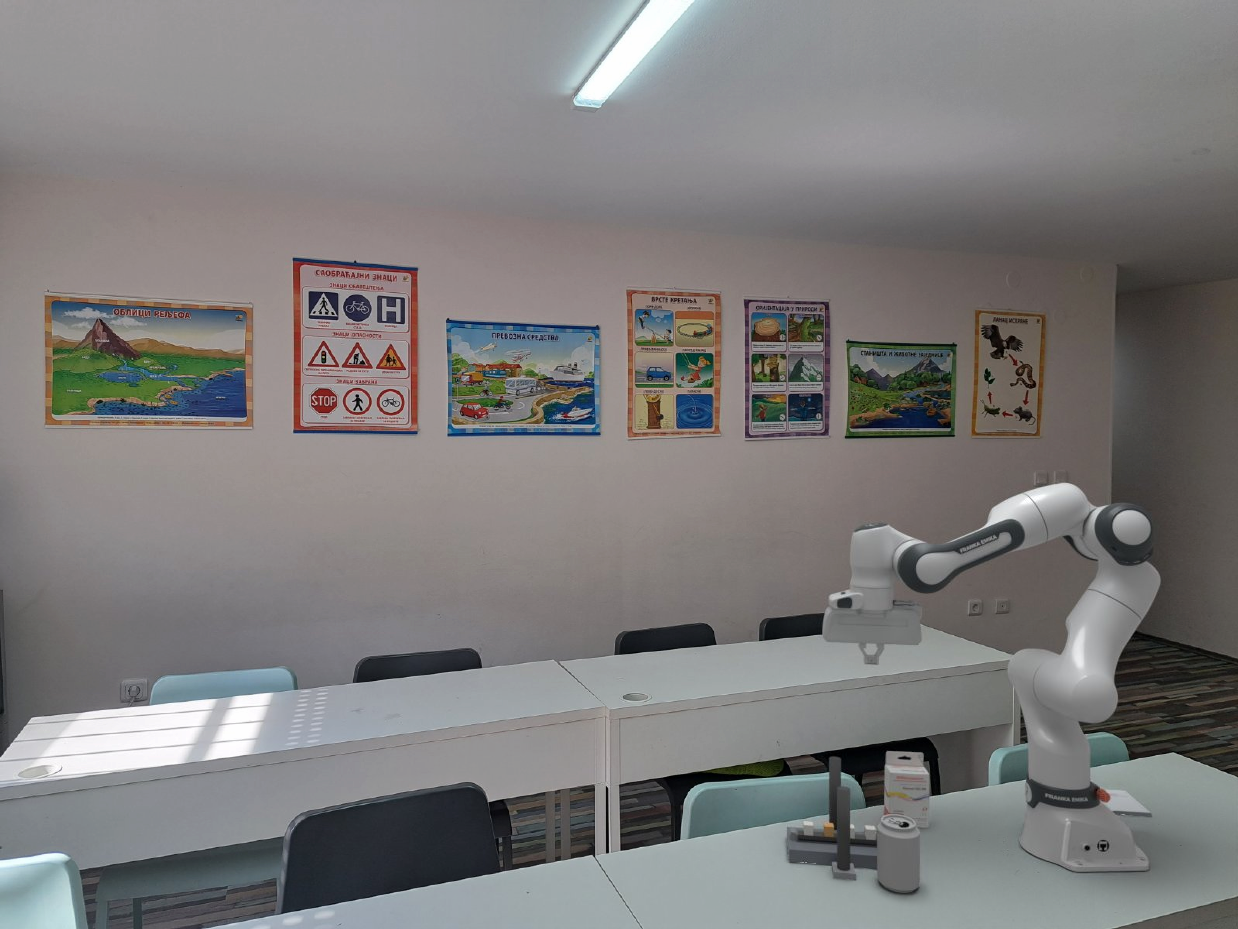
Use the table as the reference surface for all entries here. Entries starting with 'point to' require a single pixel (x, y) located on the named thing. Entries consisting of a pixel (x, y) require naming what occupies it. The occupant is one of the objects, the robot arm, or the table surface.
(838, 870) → the post
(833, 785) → the disc
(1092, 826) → the robot arm
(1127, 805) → the external hard drive
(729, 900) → the table surface
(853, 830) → the breaker paddles
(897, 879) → the can
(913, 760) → the ink cartridge box
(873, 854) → the breaker panel
